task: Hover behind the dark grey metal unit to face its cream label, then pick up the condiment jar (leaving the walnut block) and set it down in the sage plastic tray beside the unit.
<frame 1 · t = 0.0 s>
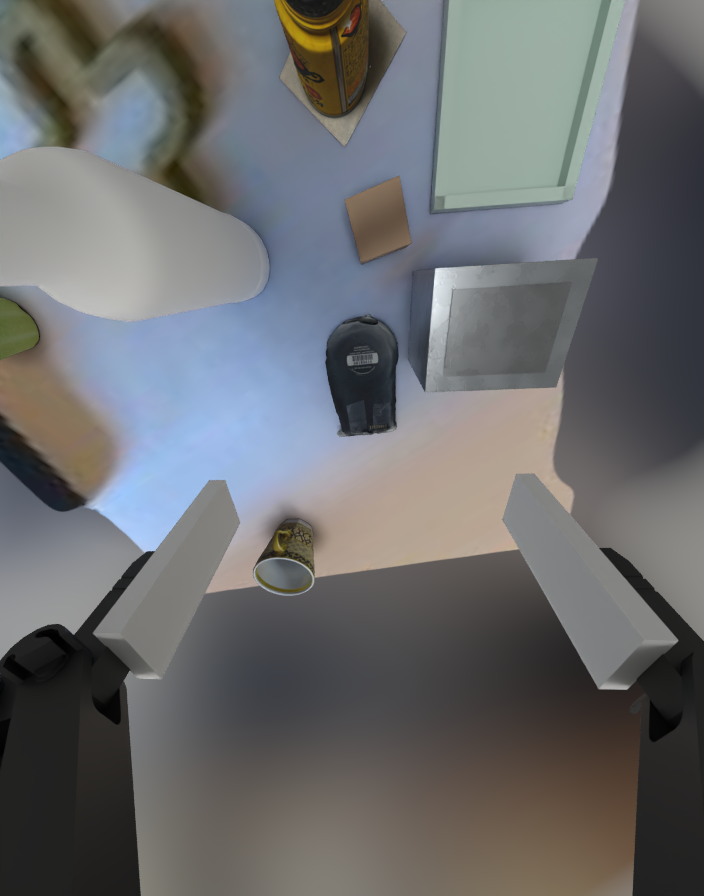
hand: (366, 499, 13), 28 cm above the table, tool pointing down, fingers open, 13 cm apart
unit: (460, 316, 34), on the table
electronic device: (363, 376, 39), on the table
plant pot: (15, 323, 37), on the table
walnut block: (376, 229, 30), on the table
tray: (509, 108, 26), on the table
ceramic cup: (294, 524, 54), on the table
condiment: (340, 59, 25), on the table
bottle: (237, 261, 33), on the table
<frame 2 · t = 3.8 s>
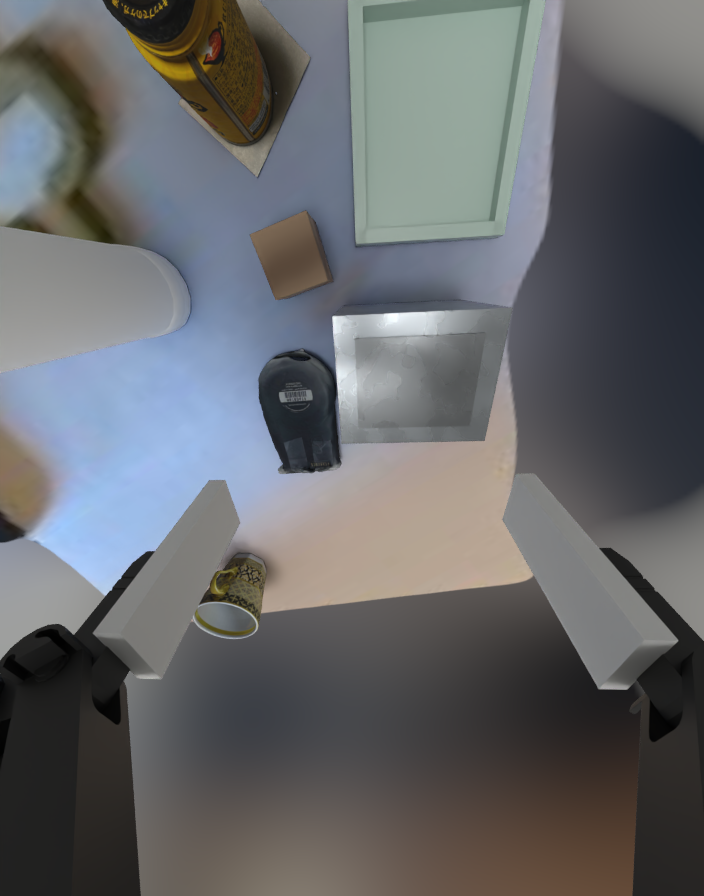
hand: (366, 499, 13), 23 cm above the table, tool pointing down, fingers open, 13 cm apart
unit: (399, 352, 32), on the table
electronic device: (304, 410, 37), on the table
walnut block: (301, 262, 28), on the table
tray: (431, 138, 23), on the table
ceramic cup: (246, 558, 51), on the table
condiment: (244, 85, 23), on the table
bottle: (155, 293, 30), on the table
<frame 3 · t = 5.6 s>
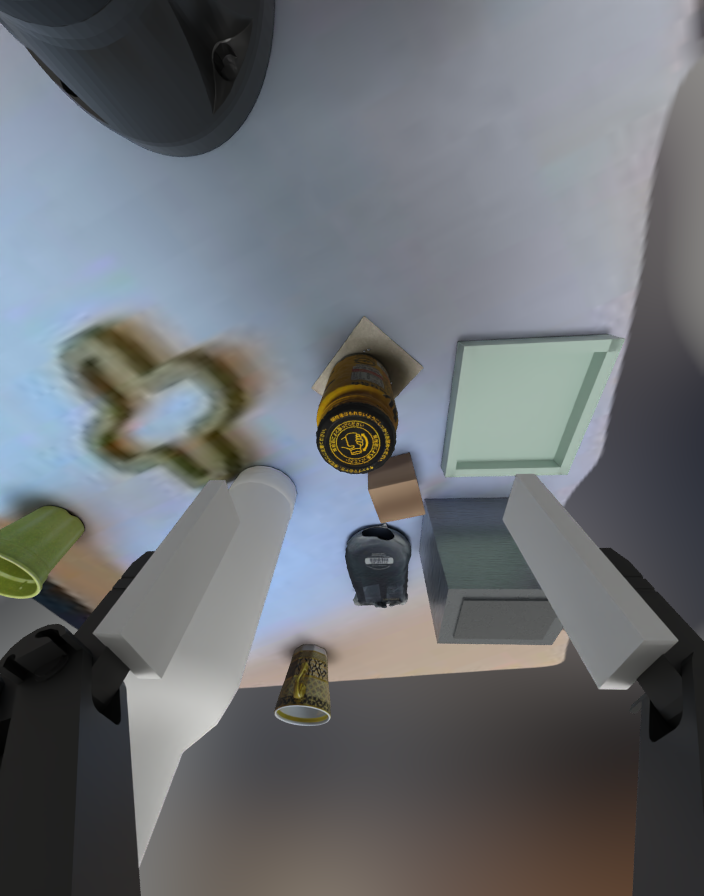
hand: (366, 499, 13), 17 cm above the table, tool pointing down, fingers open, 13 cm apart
unit: (466, 526, 38), on the table
electronic device: (378, 556, 43), on the table
plant pot: (63, 519, 41), on the table
walnut block: (393, 473, 34), on the table
tray: (512, 409, 29), on the table
ceramic cup: (310, 647, 58), on the table
condiment: (365, 376, 28), on the table
bottle: (267, 488, 36), on the table
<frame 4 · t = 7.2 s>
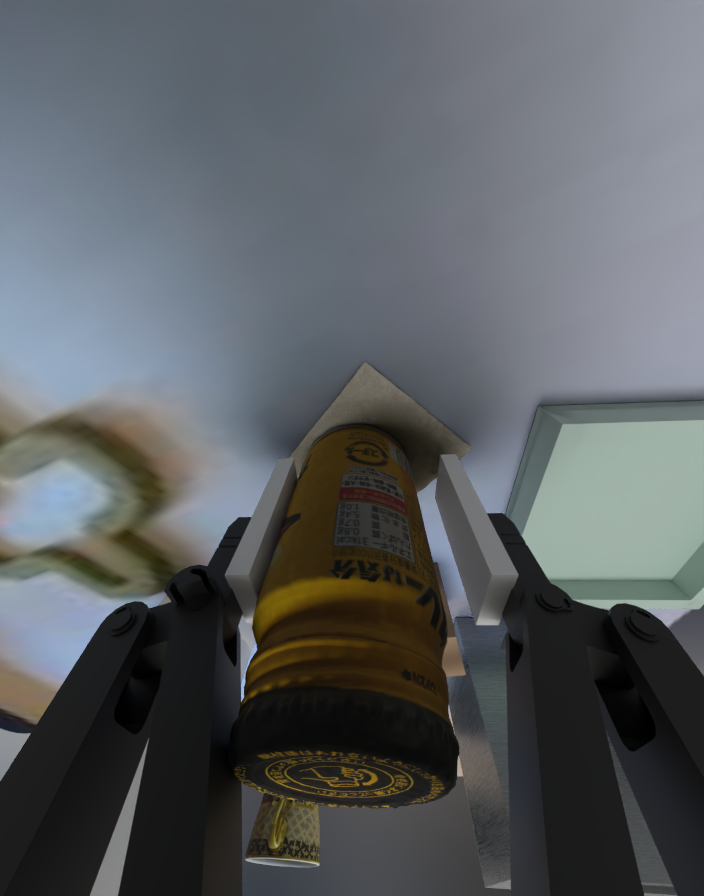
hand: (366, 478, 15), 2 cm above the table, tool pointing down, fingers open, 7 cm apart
unit: (515, 647, 26), on the table
walnut block: (409, 587, 22), on the table
tray: (616, 510, 17), on the table
ceramic cup: (295, 750, 46), on the table
condiment: (367, 458, 16), on the table, touching gripper
bottle: (219, 599, 24), on the table
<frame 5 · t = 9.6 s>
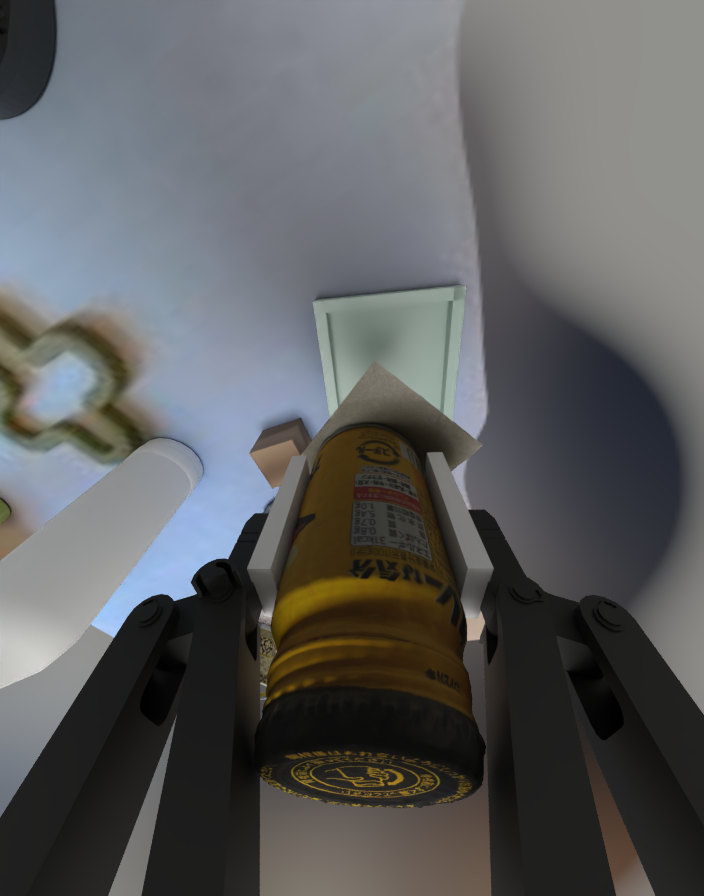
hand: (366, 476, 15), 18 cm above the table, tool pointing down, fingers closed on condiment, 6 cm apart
walnut block: (291, 441, 35), on the table
tray: (388, 368, 29), on the table
ceramic cup: (259, 626, 59), on the table
condiment: (377, 457, 16), point 16 cm above the table, touching gripper
bottle: (174, 462, 37), on the table
when the fingers open (3 cm above the table, at t = 11.9 s): condiment stays where it is, resting on tray.
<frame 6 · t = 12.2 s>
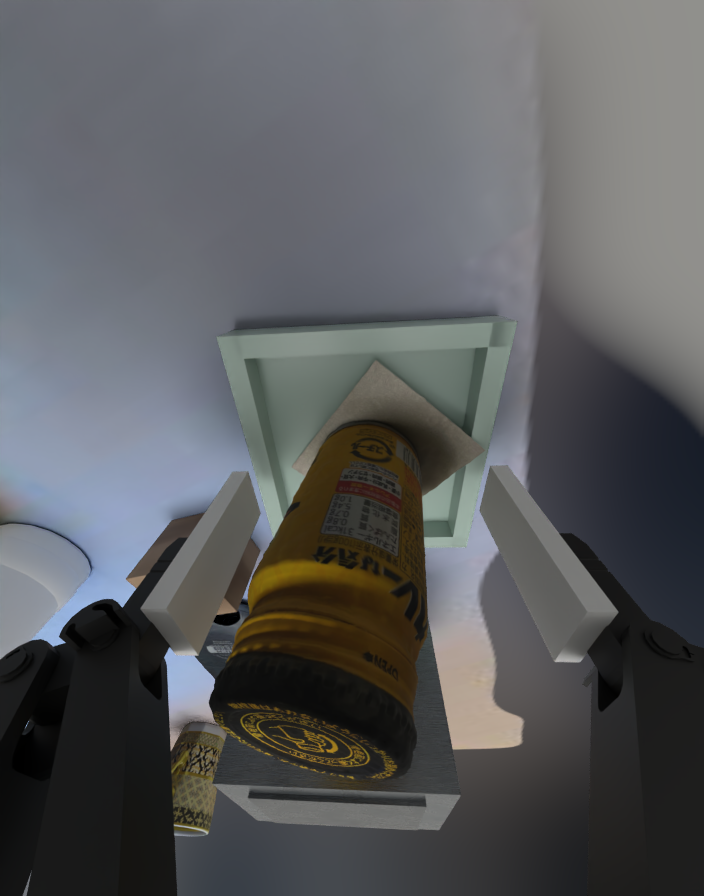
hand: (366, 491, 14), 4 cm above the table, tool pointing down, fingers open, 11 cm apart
unit: (350, 602, 26), on the table
electronic device: (245, 632, 31), on the table
walnut block: (217, 535, 23), on the table
tray: (366, 445, 18), on the table
ceramic cup: (203, 724, 46), on the table
condiment: (379, 455, 17), point 1 cm above the table, touching tray
bottle: (46, 552, 25), on the table
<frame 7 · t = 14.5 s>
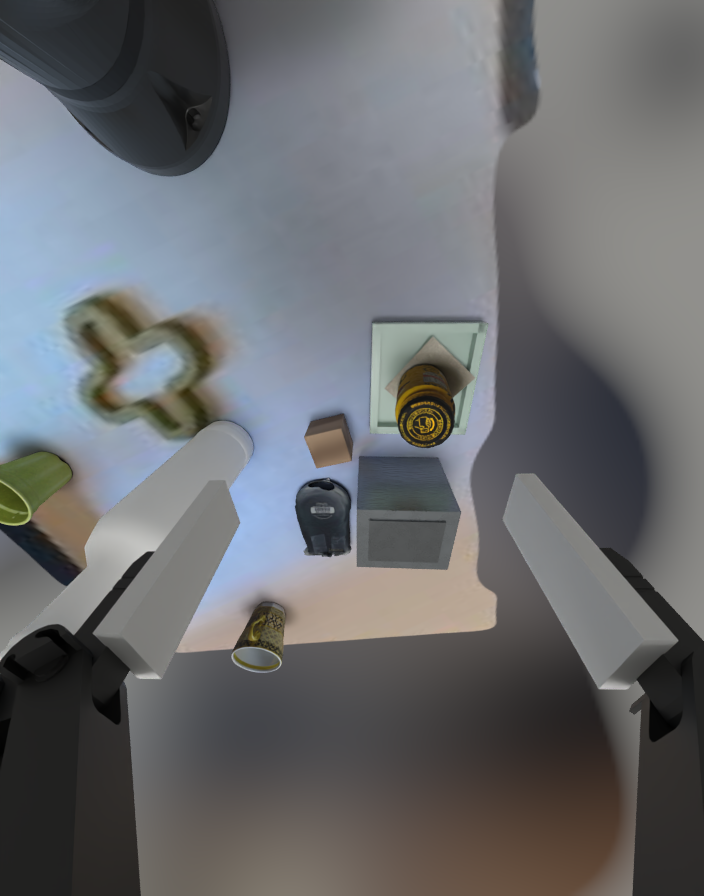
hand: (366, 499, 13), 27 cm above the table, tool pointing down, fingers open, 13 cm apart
unit: (396, 483, 46), on the table
electronic device: (325, 511, 50), on the table
plant pot: (54, 466, 47), on the table
walnut block: (332, 432, 42), on the table
tray: (420, 379, 37), on the table
ceramic cup: (270, 605, 64), on the table
condiment: (427, 382, 36), point 1 cm above the table, touching tray
bottle: (229, 442, 44), on the table
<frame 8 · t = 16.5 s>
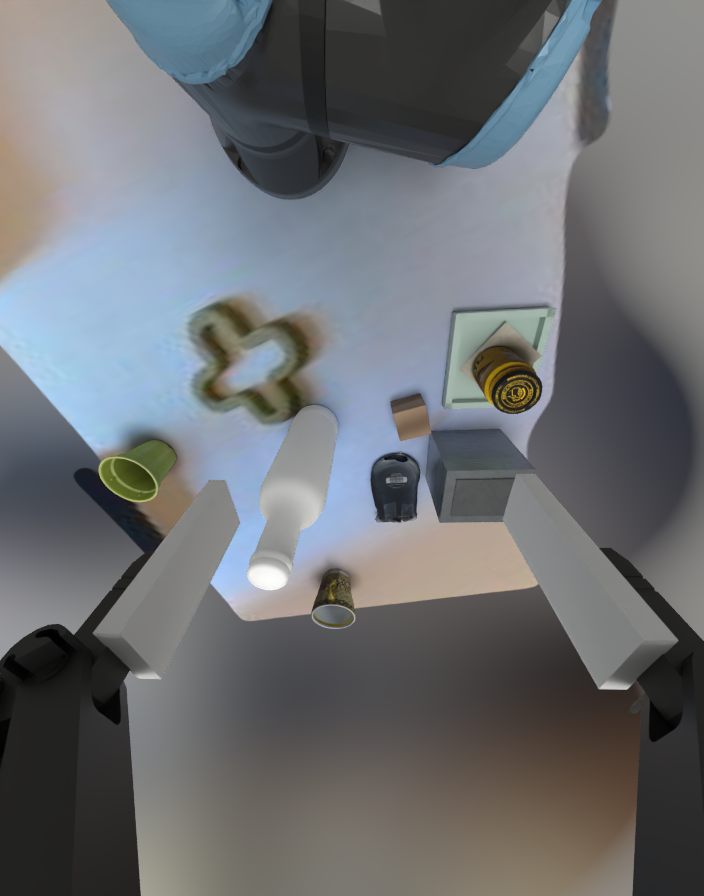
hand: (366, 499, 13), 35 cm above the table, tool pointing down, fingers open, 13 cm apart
unit: (460, 454, 52), on the table
electronic device: (394, 483, 57), on the table
plant pot: (161, 452, 55), on the table
walnut block: (408, 410, 48), on the table
tray: (489, 360, 43), on the table
ceramic cup: (336, 572, 72), on the table
condiment: (498, 362, 42), point 1 cm above the table, touching tray
bottle: (316, 424, 50), on the table
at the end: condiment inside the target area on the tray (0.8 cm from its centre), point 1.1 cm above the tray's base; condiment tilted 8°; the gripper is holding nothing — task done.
